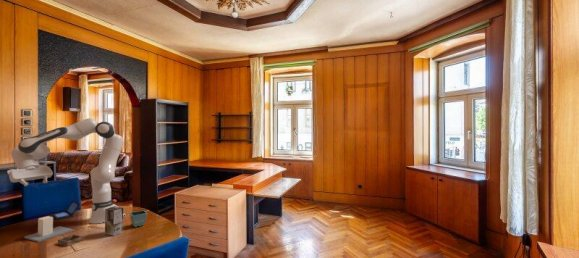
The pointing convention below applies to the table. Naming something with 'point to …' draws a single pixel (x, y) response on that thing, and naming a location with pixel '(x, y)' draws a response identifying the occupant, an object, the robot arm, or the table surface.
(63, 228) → the slate board
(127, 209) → the table surface
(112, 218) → the coffee box
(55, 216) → the handheld game console
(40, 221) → the cream block
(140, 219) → the flower pot
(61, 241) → the walnut pocket
